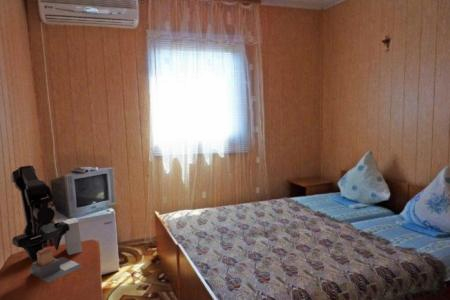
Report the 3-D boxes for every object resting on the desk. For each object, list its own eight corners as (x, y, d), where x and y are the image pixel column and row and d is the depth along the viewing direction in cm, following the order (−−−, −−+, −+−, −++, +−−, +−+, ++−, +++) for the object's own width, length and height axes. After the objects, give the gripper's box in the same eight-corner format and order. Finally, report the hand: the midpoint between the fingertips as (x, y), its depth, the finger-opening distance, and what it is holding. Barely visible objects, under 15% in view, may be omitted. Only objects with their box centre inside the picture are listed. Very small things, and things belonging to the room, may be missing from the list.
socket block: (27, 273, 122) (26, 261, 121) (63, 258, 133) (61, 247, 133) (47, 285, 113) (46, 272, 112) (83, 268, 124) (82, 256, 124)
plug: (38, 272, 121) (36, 251, 119) (49, 267, 124) (47, 247, 123) (43, 275, 118) (41, 253, 117) (54, 270, 122) (52, 249, 120)
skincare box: (82, 253, 137) (79, 221, 136) (67, 257, 134) (64, 225, 132) (79, 247, 144) (76, 216, 142) (65, 250, 141) (62, 219, 139)
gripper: (22, 228, 106) (28, 270, 108) (75, 212, 121) (78, 250, 123) (9, 222, 112) (14, 262, 114) (60, 208, 127) (64, 243, 130)
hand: (44, 254), depth 120 cm, fingers open, 9 cm apart
